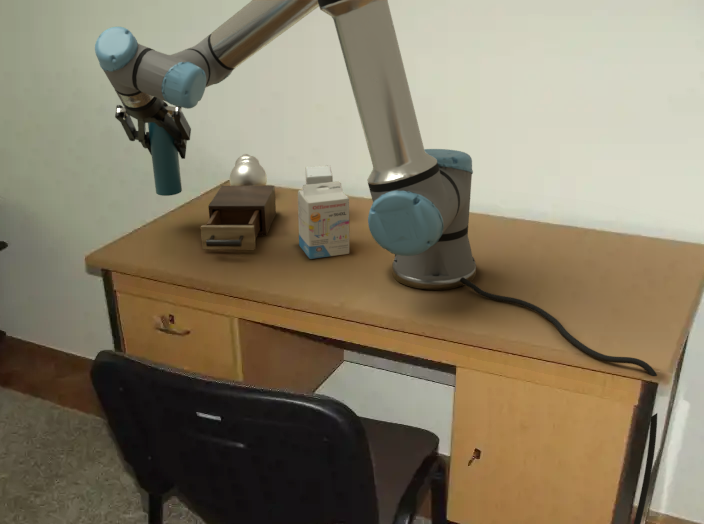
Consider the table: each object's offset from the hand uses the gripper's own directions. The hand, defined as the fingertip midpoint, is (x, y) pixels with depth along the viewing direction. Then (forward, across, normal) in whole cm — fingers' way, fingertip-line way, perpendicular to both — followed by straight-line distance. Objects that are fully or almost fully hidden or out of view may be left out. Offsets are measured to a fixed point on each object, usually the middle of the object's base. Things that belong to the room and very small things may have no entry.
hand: (169, 153), depth 189 cm
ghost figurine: (+24, +13, +2) cm, 28 cm away
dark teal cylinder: (+3, 0, -8) cm, 8 cm away
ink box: (+1, +35, -22) cm, 41 cm away
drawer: (+1, +15, -20) cm, 25 cm away
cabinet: (+11, +15, -11) cm, 22 cm away
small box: (+14, +32, -8) cm, 36 cm away
